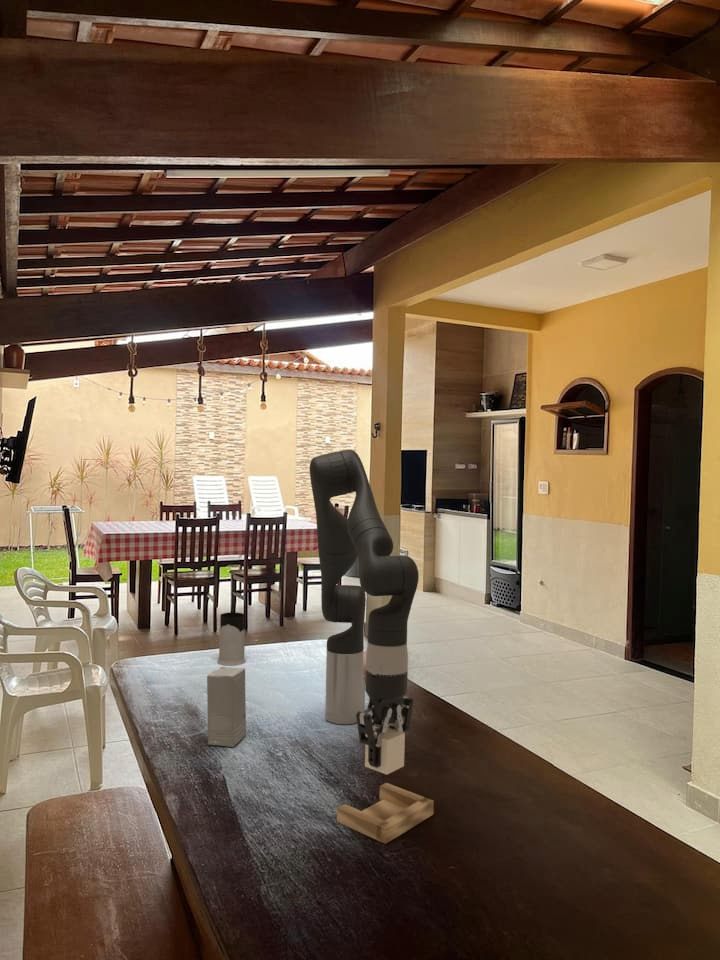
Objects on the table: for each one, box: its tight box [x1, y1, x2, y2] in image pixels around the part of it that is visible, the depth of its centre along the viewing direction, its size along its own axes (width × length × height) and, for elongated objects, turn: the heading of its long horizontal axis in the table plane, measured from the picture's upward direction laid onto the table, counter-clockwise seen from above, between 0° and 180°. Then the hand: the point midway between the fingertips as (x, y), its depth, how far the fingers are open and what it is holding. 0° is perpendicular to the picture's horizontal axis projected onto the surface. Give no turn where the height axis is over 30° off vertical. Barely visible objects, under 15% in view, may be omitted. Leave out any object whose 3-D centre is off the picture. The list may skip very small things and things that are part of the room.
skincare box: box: [206, 666, 247, 748], centre depth 165 cm, size 8×7×16 cm
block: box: [364, 727, 406, 775], centre depth 130 cm, size 5×5×6 cm
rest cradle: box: [336, 782, 435, 845], centre depth 130 cm, size 14×11×2 cm
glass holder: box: [217, 612, 246, 667], centre depth 232 cm, size 9×14×15 cm, turn 170°
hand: (384, 761), depth 130 cm, fingers closed on block, 5 cm apart
